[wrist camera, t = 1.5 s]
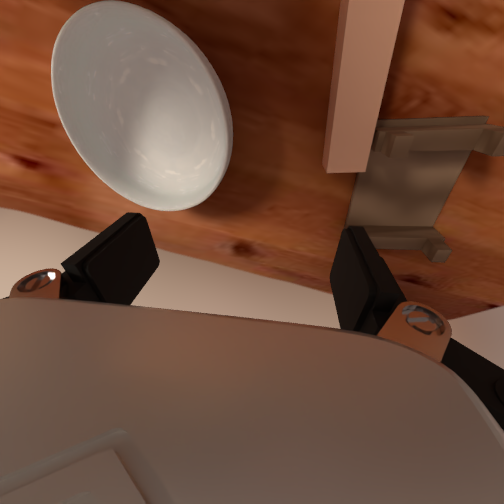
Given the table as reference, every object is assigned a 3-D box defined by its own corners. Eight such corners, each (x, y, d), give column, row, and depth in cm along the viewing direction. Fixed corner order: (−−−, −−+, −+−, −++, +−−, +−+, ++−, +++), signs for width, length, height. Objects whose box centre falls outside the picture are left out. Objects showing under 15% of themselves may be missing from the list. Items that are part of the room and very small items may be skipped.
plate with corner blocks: (369, 119, 24) (391, 128, 19) (483, 115, 22) (538, 124, 18) (342, 236, 33) (352, 262, 28) (422, 238, 31) (447, 266, 27)
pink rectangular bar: (349, -84, 17) (365, -124, 14) (406, -95, 16) (436, -139, 13) (321, 163, 27) (326, 173, 24) (355, 161, 27) (365, 171, 24)
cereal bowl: (69, 68, 24) (5, 62, 19) (198, -19, 19) (163, -62, 14) (157, 204, 33) (132, 227, 28) (260, 168, 28) (254, 189, 23)
